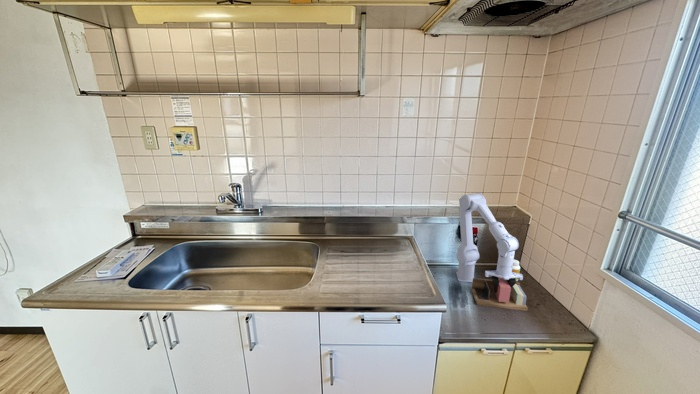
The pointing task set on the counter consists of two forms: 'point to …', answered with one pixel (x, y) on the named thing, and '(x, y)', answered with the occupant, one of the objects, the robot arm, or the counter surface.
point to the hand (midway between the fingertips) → (501, 291)
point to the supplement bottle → (516, 267)
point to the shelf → (494, 296)
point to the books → (518, 295)
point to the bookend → (483, 292)
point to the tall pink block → (503, 290)
